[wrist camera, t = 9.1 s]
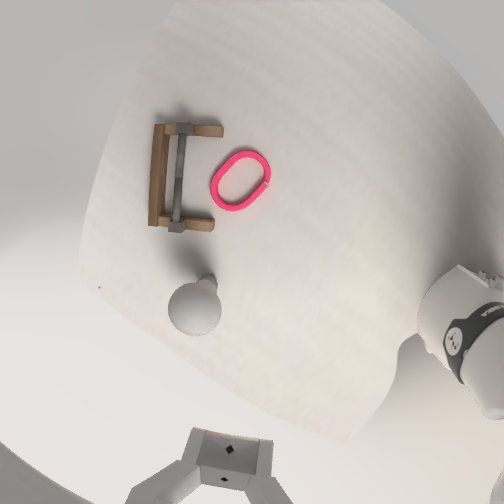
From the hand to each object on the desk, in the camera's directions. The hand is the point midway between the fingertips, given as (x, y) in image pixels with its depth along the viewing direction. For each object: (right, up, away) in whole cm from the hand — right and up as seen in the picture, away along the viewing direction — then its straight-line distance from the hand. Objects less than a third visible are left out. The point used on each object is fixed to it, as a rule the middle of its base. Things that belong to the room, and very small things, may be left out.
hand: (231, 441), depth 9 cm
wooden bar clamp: (-7, +17, +26) cm, 31 cm away
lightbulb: (-5, +3, +30) cm, 31 cm away
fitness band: (-1, +16, +26) cm, 31 cm away
